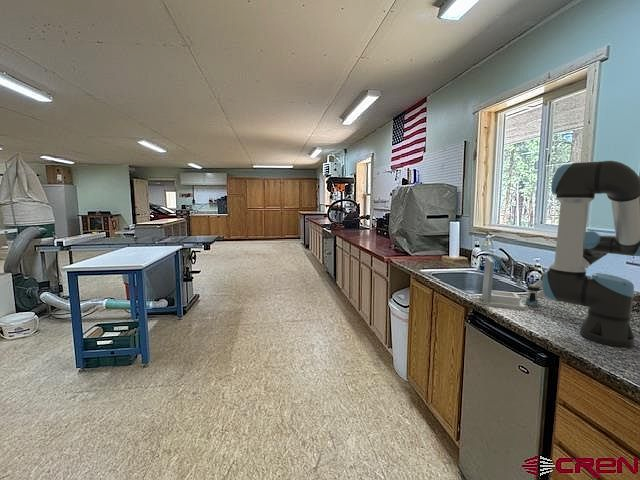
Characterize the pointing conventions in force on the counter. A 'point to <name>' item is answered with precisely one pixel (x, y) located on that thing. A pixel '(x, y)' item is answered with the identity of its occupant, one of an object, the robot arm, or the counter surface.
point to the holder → (497, 296)
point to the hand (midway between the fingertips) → (534, 292)
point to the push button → (532, 295)
